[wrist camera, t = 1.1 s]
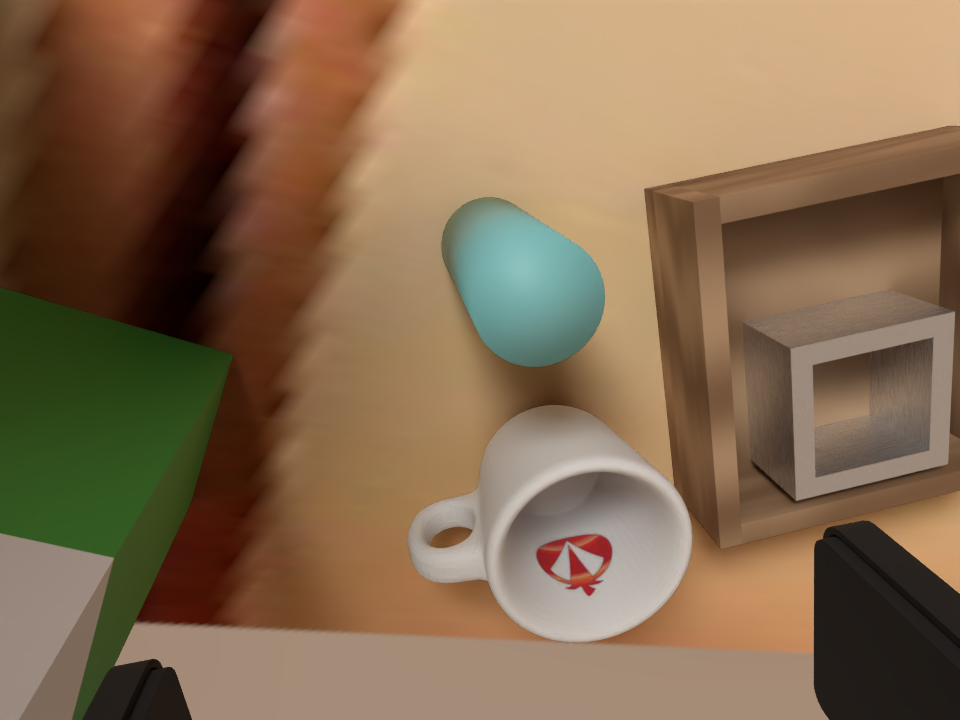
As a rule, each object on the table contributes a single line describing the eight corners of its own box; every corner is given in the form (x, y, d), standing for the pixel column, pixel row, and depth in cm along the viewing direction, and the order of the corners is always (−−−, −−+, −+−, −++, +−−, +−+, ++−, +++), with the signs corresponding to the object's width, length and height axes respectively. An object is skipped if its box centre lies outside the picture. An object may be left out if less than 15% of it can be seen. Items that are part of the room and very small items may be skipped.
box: (644, 189, 31) (693, 202, 26) (949, 125, 32) (1049, 127, 27) (675, 492, 36) (720, 549, 31) (937, 430, 37) (1019, 475, 32)
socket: (742, 321, 32) (790, 348, 29) (888, 289, 33) (955, 311, 29) (750, 459, 35) (796, 500, 31) (886, 426, 35) (948, 464, 31)
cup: (421, 563, 35) (434, 685, 28) (385, 416, 32) (389, 507, 25) (634, 513, 36) (702, 618, 28) (616, 365, 33) (686, 439, 26)
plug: (432, 207, 30) (459, 250, 20) (526, 188, 30) (595, 221, 21) (451, 299, 31) (484, 379, 22) (541, 280, 31) (612, 351, 22)
